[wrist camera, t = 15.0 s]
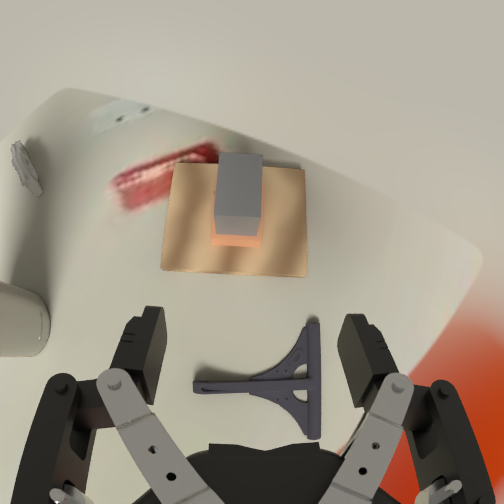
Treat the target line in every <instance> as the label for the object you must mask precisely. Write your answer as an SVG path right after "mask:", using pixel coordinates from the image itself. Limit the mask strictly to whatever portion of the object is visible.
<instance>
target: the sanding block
mask: <svg viewBox="0 0 504 504" xmlns="http://www.w3.org/2000/svg"><path fill="white" fill-rule="evenodd" d="M262 166H263V155H260V154H244V153H225V152H220V154H219V164H218V173H217V174H216V183H215V193H214V204H213V214H212V226H211V238H210V239H211V243H212V245H222V246H240V247H259V248H260V246H261V242H262V221H263V185H264V177H262Z"/></svg>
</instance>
